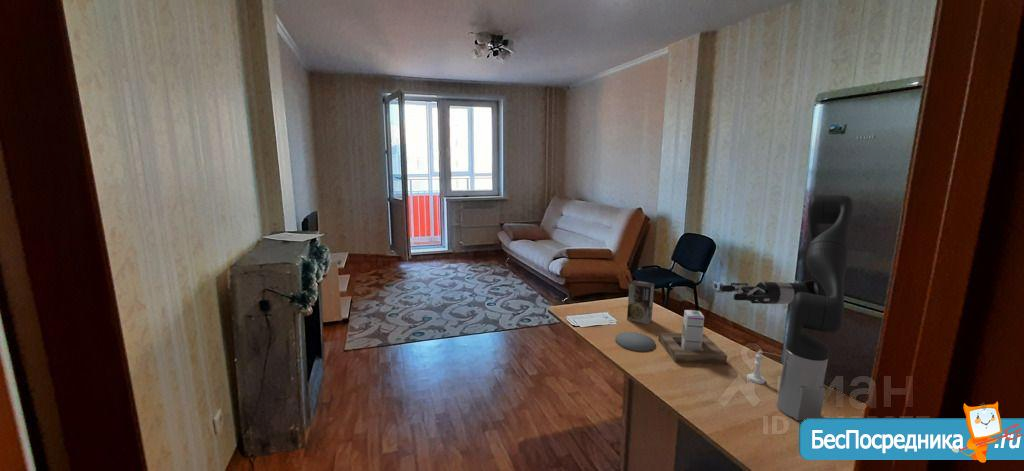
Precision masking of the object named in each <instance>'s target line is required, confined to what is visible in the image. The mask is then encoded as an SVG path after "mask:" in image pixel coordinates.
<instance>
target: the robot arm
mask: <svg viewBox="0 0 1024 471" xmlns="http://www.w3.org/2000/svg"><path fill="white" fill-rule="evenodd" d="M853 211H854V204H853V200H852V198H851V197H850V196H848V195H841V194H838V195H837V194H816V195H813V196H811V198H810V200H809V202H808V208H807V219H808V220H807V221H808V222H807V223H808V224H807V225H808V234H809V236H808V237H809V244H808V247H807V251H806V252H807V253H806V258H805V264H806V267H807V269H808V271H809V272H810V276H811V278H812V279H808V280H805V281H799V282H783V281H760V282H758V283H757V284H756V285H755V286H754V285H749V283H747V282H744V283H743V282H730V284H729V285H728V284H727V285H725V284H723V285H721V287H720V292H723V293H726V292H727V293H729V292H730V293H734V294H733V300H734V301H746V302H747V303H749V302H750V303H751V304H754V305H755V304H763V305H785V304H791V308H790V320H789V329H788V336H787V341H786V346H785V352H784V357H783V363H782V371H781V376H780V380H779V381H780V383H779V387H778V388H779V389H778V396H777V401H776V406H777V408H778V410H780V412H782V413H783V414H784V415H786V416H788V417H790V418H793V419H794V420H795V421H800V422H803V421H802V420H804V419H807V418H820V419H821V415H822V410H823V405H824V401H825V400H824V399H825V393H826V388H825V387H824V382H825V379H826V372H827V367H828V361H829V357H830V347H829V346H828V345H827V344H826V343H825V342H823V341H821V340H820V339H818V338H816V337H815V336H812V334H810V333H809V332H807V331H806V330H813V331H817V332H822V333H826V334H837V333H839V331H840V330H841V329H842V326H843V323H844V316H845V315H844V314H845V311H844V310H845V294H844V290H845V277H846V269H847V263H848V252H849V235H850V234H849V232H850V227H851V222H852V218H853V213H854V212H853ZM821 225H831V226H830V227H829V228H828V229H826V230H824V231H823V232H822V229H821ZM805 329H806V330H805Z"/></svg>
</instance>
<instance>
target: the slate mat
mask: <svg viewBox="0 0 1024 471" xmlns="http://www.w3.org/2000/svg"><path fill="white" fill-rule="evenodd" d="M614 342H615V343H616V344H617V345H618V346H620V347H621V348H623V349H626V350H628V351H629V350H630V351H633V352H649V351H651V350H653V349H654V348H655V347H656V346H655V345H656V344H655V343H656V342H655V340H654V339H653V338H652V337H650V336H649V335H646V334H643V333H641V332H640V333H639V332H635V331H634V332H633V331H625V332H619V333H618V334H615V341H614Z"/></svg>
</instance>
